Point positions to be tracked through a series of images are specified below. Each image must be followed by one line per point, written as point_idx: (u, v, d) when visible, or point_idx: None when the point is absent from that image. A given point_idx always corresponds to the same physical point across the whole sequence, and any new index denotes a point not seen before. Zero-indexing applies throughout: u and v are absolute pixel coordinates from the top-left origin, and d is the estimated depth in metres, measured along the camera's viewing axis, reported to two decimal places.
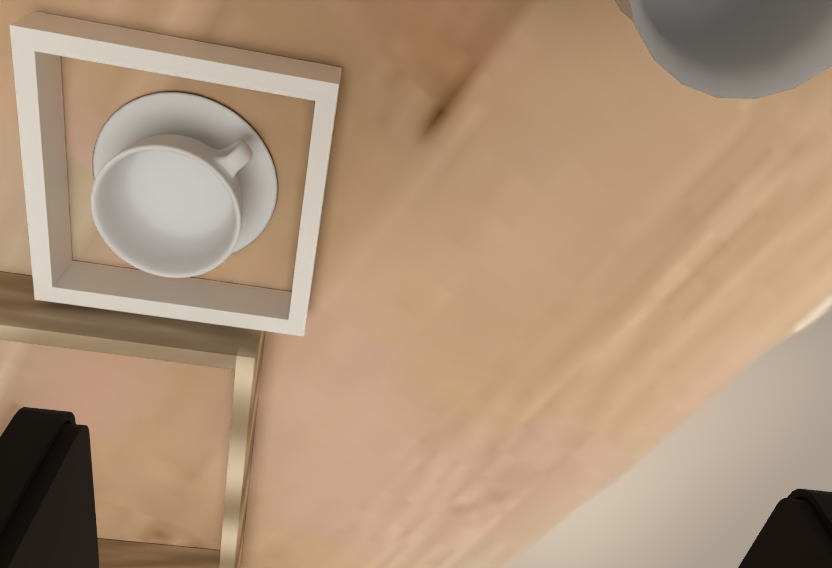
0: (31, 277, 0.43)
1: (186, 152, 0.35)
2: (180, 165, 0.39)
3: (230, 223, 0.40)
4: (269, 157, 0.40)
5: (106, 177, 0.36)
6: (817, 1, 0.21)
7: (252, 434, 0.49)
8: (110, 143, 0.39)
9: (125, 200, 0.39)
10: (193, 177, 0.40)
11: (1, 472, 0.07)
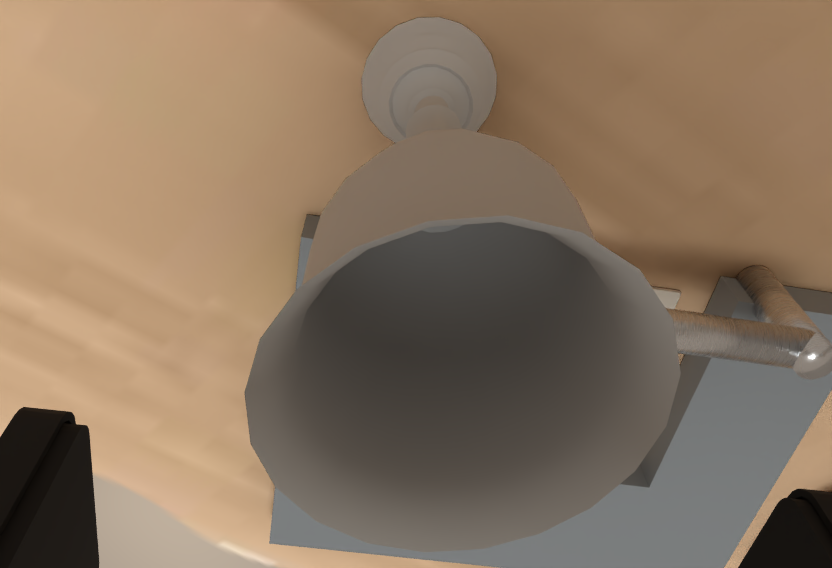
0: None
1: None
2: None
3: None
4: None
5: None
6: (391, 452, 0.15)
7: None
8: None
9: None
10: None
11: (1, 472, 0.07)
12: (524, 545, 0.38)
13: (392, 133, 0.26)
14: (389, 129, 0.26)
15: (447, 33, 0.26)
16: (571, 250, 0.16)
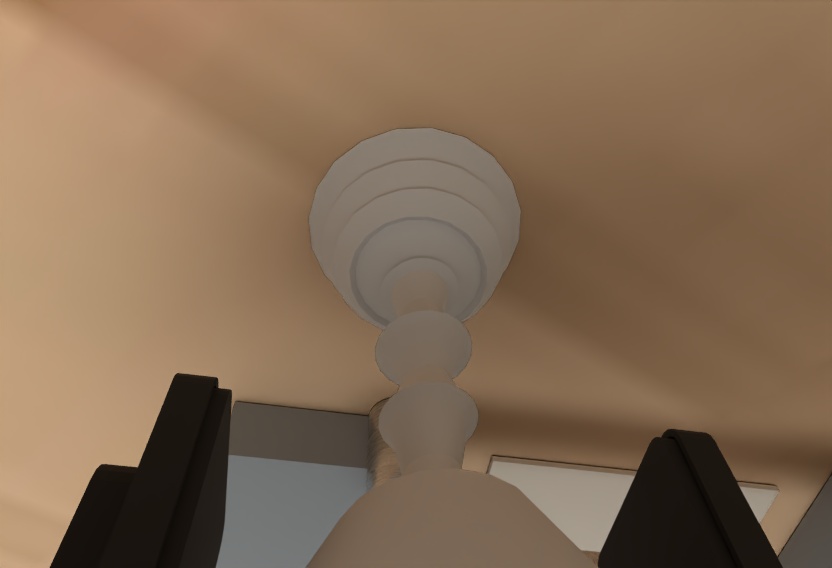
0: None
1: None
2: None
3: None
4: None
5: None
6: None
7: None
8: None
9: None
10: None
11: (175, 427, 0.08)
12: None
13: (357, 312, 0.16)
14: (352, 306, 0.16)
15: (443, 156, 0.16)
16: None
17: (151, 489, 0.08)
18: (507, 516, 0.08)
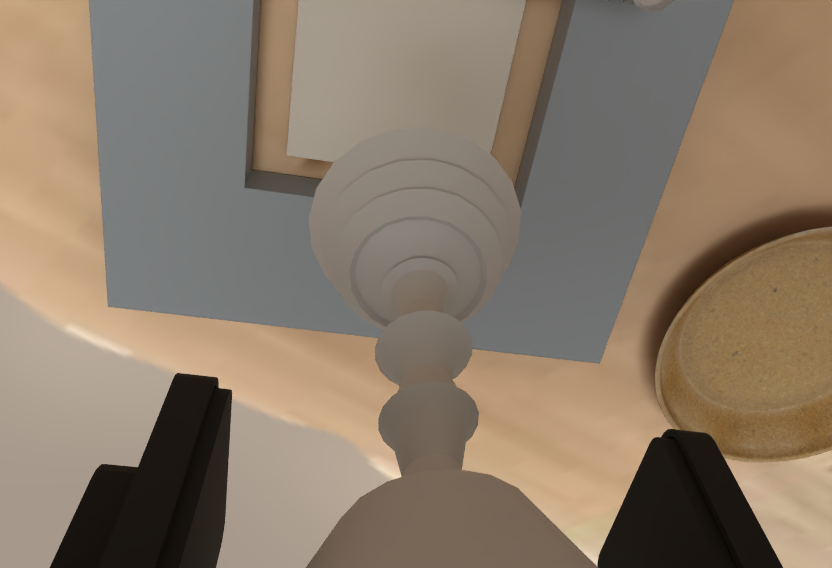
0: None
1: None
2: None
3: None
4: None
5: None
6: None
7: None
8: None
9: None
10: None
11: (175, 427, 0.08)
12: None
13: (357, 312, 0.16)
14: (352, 307, 0.16)
15: (444, 156, 0.16)
16: None
17: (151, 490, 0.08)
18: (507, 517, 0.08)
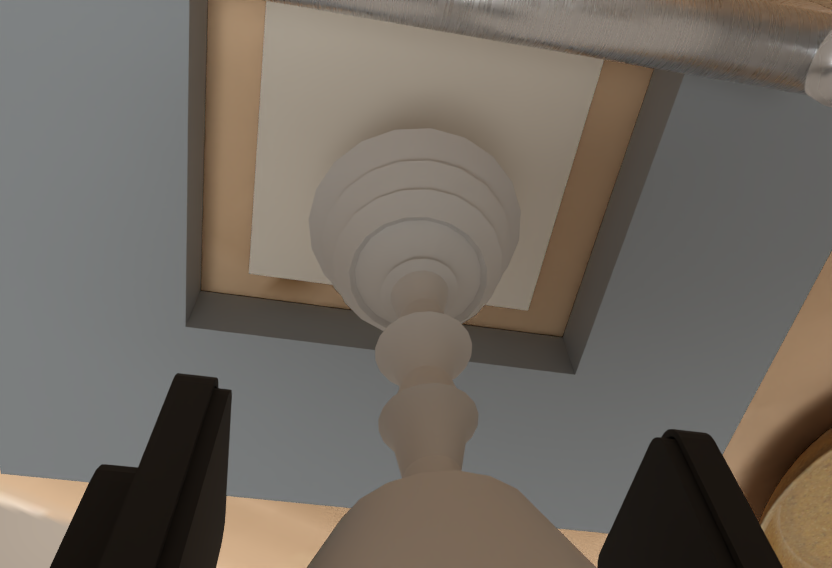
0: None
1: None
2: None
3: None
4: None
5: None
6: None
7: None
8: None
9: None
10: None
11: (174, 427, 0.08)
12: (392, 473, 0.25)
13: (357, 313, 0.16)
14: (352, 307, 0.16)
15: (443, 157, 0.16)
16: None
17: (151, 489, 0.08)
18: (507, 519, 0.08)
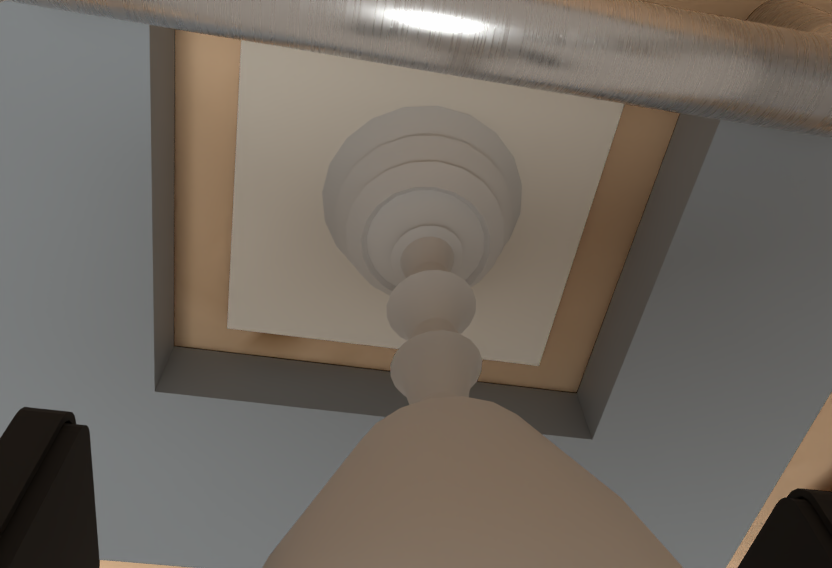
0: None
1: None
2: None
3: None
4: None
5: None
6: None
7: None
8: None
9: None
10: None
11: (2, 472, 0.08)
12: None
13: (368, 279, 0.17)
14: (363, 274, 0.17)
15: (449, 132, 0.17)
16: None
17: None
18: (507, 428, 0.09)
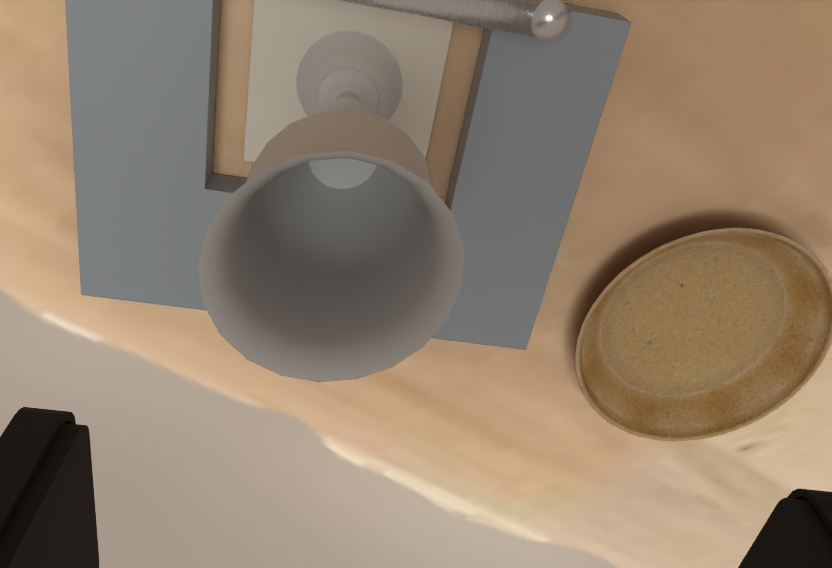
0: None
1: None
2: None
3: None
4: None
5: None
6: (299, 324, 0.22)
7: None
8: None
9: None
10: None
11: (1, 472, 0.07)
12: None
13: None
14: None
15: (360, 43, 0.33)
16: None
17: None
18: None
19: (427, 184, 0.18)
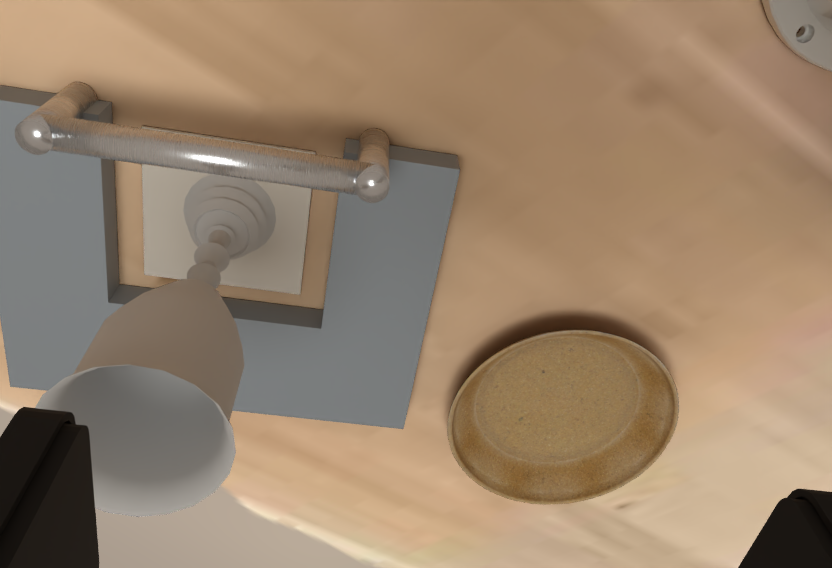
0: None
1: None
2: None
3: None
4: None
5: None
6: (129, 465, 0.28)
7: None
8: None
9: None
10: None
11: (1, 472, 0.07)
12: None
13: None
14: (198, 246, 0.39)
15: (233, 184, 0.39)
16: None
17: None
18: (194, 283, 0.31)
19: (194, 384, 0.24)
